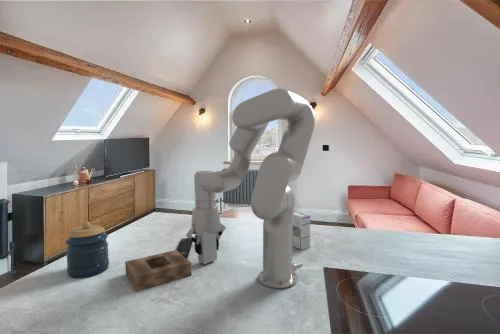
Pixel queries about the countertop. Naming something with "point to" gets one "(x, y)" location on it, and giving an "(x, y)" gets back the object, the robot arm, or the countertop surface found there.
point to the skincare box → (208, 248)
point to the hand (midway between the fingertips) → (207, 250)
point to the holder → (157, 269)
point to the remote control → (185, 247)
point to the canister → (87, 251)
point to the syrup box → (301, 231)
